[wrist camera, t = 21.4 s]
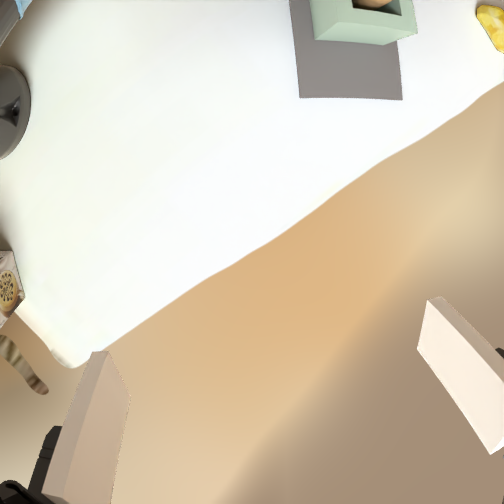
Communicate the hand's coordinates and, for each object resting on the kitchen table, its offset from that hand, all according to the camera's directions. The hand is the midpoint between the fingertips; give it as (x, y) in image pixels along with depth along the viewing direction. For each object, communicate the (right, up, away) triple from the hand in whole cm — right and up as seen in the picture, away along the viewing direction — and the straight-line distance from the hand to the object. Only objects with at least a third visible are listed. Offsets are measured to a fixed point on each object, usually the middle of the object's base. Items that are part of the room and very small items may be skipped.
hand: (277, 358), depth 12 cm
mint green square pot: (+11, +37, +21) cm, 44 cm away
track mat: (+12, +33, +23) cm, 42 cm away
